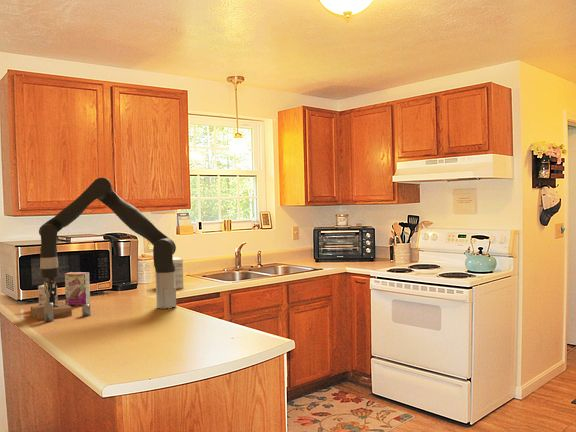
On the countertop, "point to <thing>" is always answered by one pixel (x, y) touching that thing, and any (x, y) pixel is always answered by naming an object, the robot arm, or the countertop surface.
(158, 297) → the robot arm
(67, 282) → the candy bar box
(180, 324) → the countertop surface
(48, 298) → the long pin
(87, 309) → the short pin
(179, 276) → the supplement box
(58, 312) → the hole board
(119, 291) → the countertop surface
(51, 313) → the medium pin
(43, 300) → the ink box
